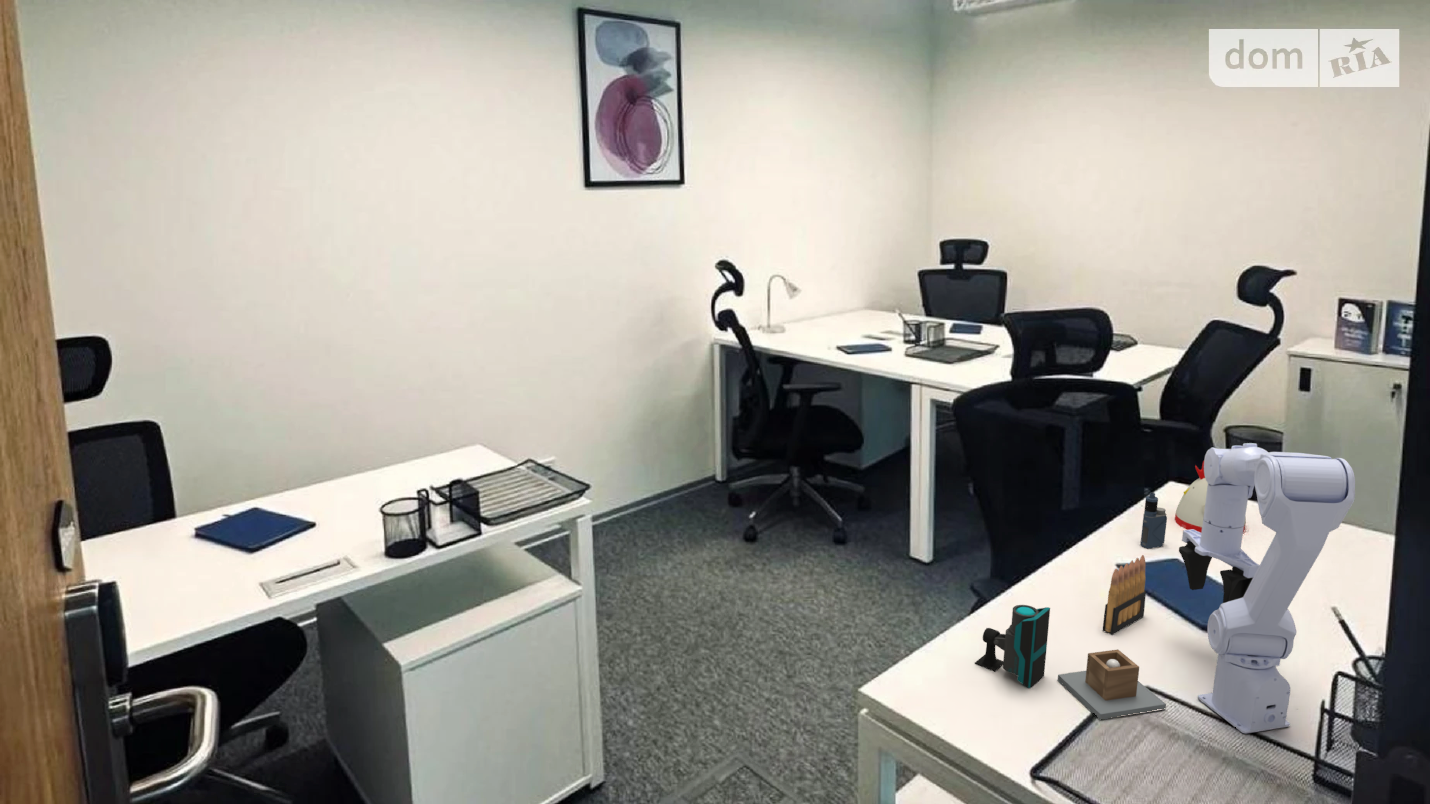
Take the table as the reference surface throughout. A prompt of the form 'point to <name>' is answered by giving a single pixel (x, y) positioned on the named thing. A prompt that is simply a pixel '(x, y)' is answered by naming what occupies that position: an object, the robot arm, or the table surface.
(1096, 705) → the gray peg stand
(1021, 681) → the surveillance camera
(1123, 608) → the ammunition clip
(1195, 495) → the kitchen timer
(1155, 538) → the vaping device
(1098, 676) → the walnut frame
